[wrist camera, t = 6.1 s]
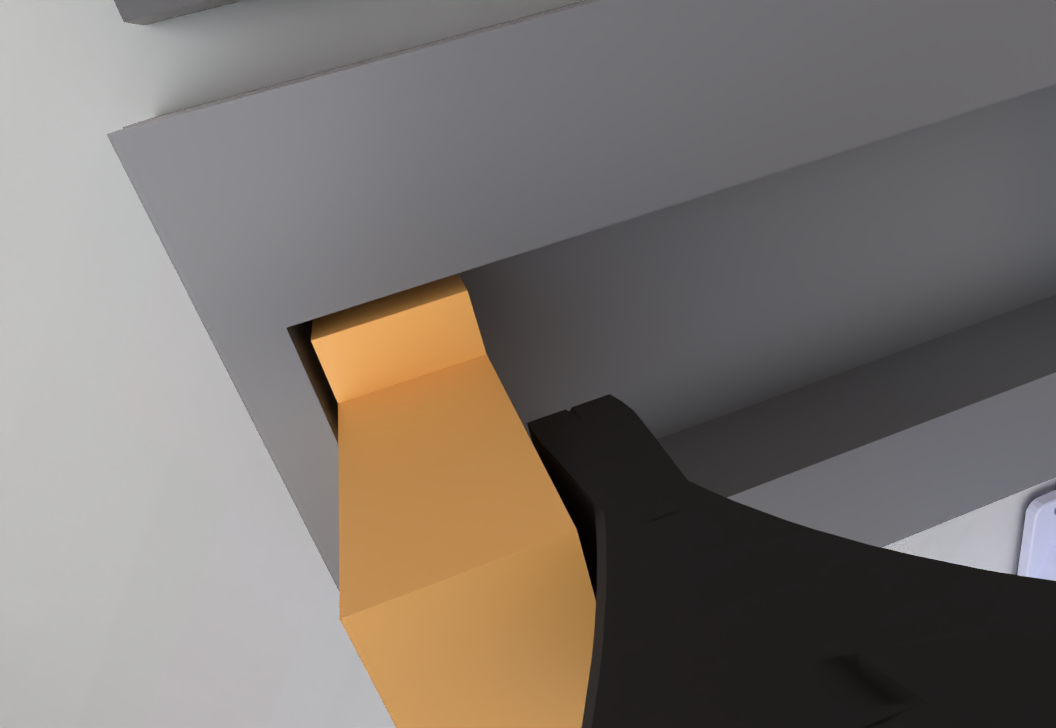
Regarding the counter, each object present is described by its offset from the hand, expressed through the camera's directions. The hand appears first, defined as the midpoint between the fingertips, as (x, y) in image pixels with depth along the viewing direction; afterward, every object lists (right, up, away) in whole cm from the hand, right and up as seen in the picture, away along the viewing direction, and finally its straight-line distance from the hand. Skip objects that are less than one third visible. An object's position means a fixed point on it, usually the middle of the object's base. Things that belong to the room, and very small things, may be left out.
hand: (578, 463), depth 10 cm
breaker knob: (-3, +1, +3) cm, 4 cm away
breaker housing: (+4, +4, +6) cm, 8 cm away
